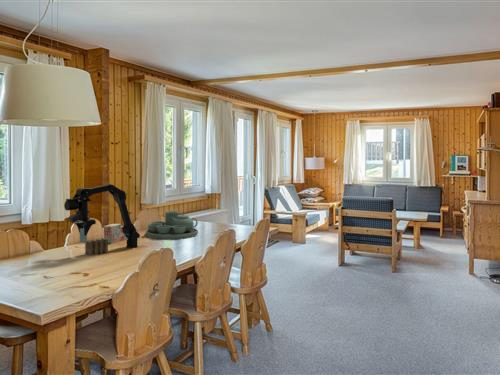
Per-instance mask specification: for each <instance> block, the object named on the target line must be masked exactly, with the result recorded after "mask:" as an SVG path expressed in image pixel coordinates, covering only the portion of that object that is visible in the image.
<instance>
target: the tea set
mask: <svg viewBox="0 0 500 375" xmlns="http://www.w3.org/2000/svg"><path fill="white" fill-rule="evenodd" d="M164 213H165V214H164V215H165V218H164V219H165V220H164V221H152V222H151V223H149V224H147V227H148V229H146V231H145V236H147V237H149V238H152V239H160V240H178V239H181V238H182V239H188V238H194V237H195V236H197V235H198V234H199V230H198V229H196V227H197V226H198V223H199V222H198V220H197V219H196V218H190V217H189V215H187V214H184V213H182V214H179V213H180V211H175V210H168V211H164ZM194 220H195V221H196V223H195V225H194Z"/></svg>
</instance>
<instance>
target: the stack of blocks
mask: <svg viewBox="0 0 500 375" xmlns="http://www.w3.org/2000/svg"><path fill="white" fill-rule="evenodd" d="M121 227H123V225H122V224H121V223H111V224H108V225H104V226H103V239H108V245H113V244H116V243H119V242H122V241H125V239H126V240H128V237H126V236H125V234H124V233H123V230H122V228H121Z"/></svg>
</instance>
